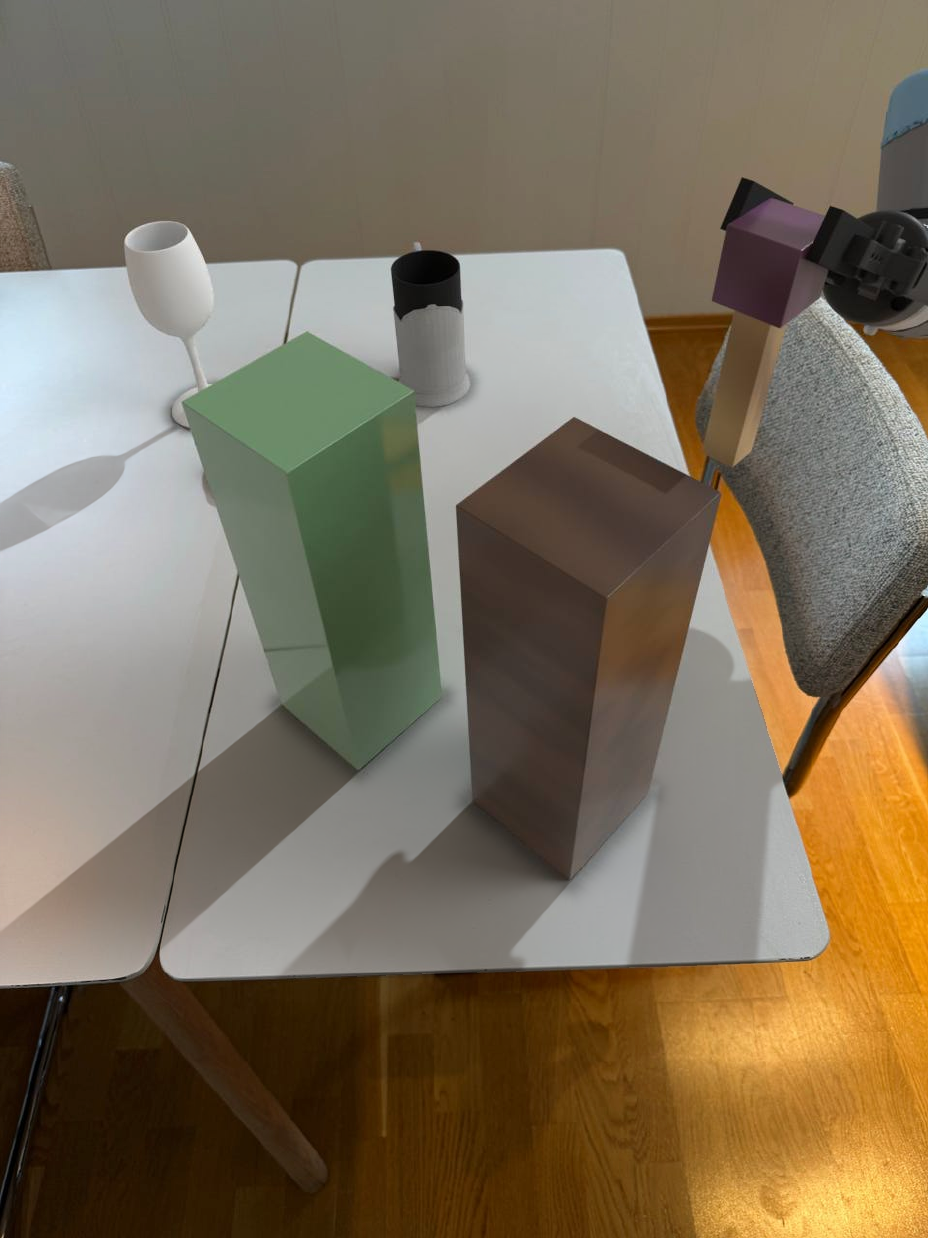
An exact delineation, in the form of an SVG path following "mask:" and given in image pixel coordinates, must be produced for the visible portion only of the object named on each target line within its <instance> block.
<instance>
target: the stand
mask: <svg viewBox="0 0 928 1238" xmlns="http://www.w3.org/2000/svg"><path fill="white" fill-rule="evenodd" d="M722 494H723V493H722V492H721V491H719V490H718V489H716V488H714V487H712V486H710V485H708V484H706V483H704V482H702V481H700V480H699V479H696V478H695V477H692V476H691V475H689V474H686V473H684V472H683V471H681V470H678V469H676V468H675V467H673V466H671V465H669V464H667V463H665V462H663V461H661V460H659V459H657V458H655V457H654V456H651V455H649V454H647V453H645V452H643V451H642V450H640V449H638V448H636V447H633V446H632V445H630V444H628V443H626V442H624V441H622V440H620V439H618V438H616V437H615V436H612V435H610V434H609V433H607V432H604V431H603V430H600V429H599V428H596V427H595V426H593V425H591V424H589V423H587V422H585V421H584V420H581V419H579V418H577V417H576V416H573V417H571V418H570V419H569V420H568V421H567V422H565V423H564V424H562V425H561V426H560V427H558V428H557V429H556V430H554V431H553V432H551V433H550V434H549V435H548V436H546V437H545V438H544V439H542V440H541V441H540V442H538V443H537V444H535V445H534V446H533V447H531V448H530V449H528V450H527V451H526V452H525V453H524V454H522V455H521V456H520V457H518V458H517V459H515V460H514V461H513V462H511V463H510V464H509V465H507V466H506V467H505V468H504V469H502V470H501V471H499V472H498V473H497V474H495V475H494V476H493V477H491V478H490V479H489V480H488V481H486V482H485V483H483V484H482V485H481V486H480V487H478V488H477V489H475V490H474V491H473V492H471V493H470V494H469V495H467V496H466V497H465V498H463V499H462V500H461V501H459V502H458V503H457V504H456V505H455V513H456V514H455V516H456V534H457V550H458V551H457V552H458V553H457V554H458V568H459V569H458V570H459V587H460V588H459V589H460V605H461V623H462V625H461V626H462V641H463V642H462V643H463V659H464V660H463V661H464V675H465V676H464V677H465V678H464V679H465V694H466V712H467V729H468V730H467V731H468V745H469V746H468V747H469V749H468V750H469V765H470V767H469V768H470V782H471V784H470V785H471V799H472V802H473V803H474V804H475V805H477V806H478V807H479V808H480V809H482V811H484V812H485V813H487V815H489V816H490V817H491V818H492V819H493V820H495V821H496V822H497V823H498V824H500V825H501V826H502V827H504V828H505V830H507V831H508V832H509V833H511V834H512V835H513V836H515V838H517V839H518V840H519V841H521V843H523V844H524V845H525V846H527V847H528V848H529V849H530V850H532V852H534V853H535V854H536V855H538V856H539V857H540V858H541V859H542V860H544V861H545V863H547V864H548V865H550V866H551V867H552V868H553V869H555V870H556V871H557V872H558V873H560V875H562V876H563V877H564V878H566V879H567V880H568V881H571V880H572V879H573V878H574V877H575V876H576V874H578V872H579V871H580V870H581V869H582V868H583V867H584V865H586V864H587V862H588V861H589V860H590V859H591V858H592V856H594V854H596V852H597V851H598V850H599V849H600V848H601V847H602V846H603V844H605V842H606V841H607V840H608V839H609V838H610V837H611V835H612V834H613V833H614V832H615V831H616V830H617V829H618V828H619V827H620V826H621V824H622V823H623V822H624V821H625V820H626V819H627V817H629V815H631V813H632V812H633V811H634V810H635V808H636V807H637V806H638V805H639V804H640V803H641V802H642V801H643V800H644V798H646V796H647V795H648V794H649V791H650V787H651V783H652V779H653V774H654V771H655V767H656V763H657V759H658V754H659V751H660V746H661V742H662V739H663V734H664V730H665V727H666V722H667V719H668V718H667V717H668V714H669V710H670V705H671V702H672V698H673V694H674V689H675V685H676V682H677V677H678V673H679V669H680V666H681V661H682V656H683V654H684V650H685V649H684V648H685V645H686V641H687V637H688V632H689V628H690V624H691V621H692V617H693V612H694V608H695V604H696V600H697V596H698V591H699V587H700V584H701V579H702V575H703V572H704V567H705V563H706V559H707V555H708V551H709V546H710V544H711V540H712V534H713V531H714V527H715V523H716V518H717V514H718V512H719V511H718V510H719V506H720V502H721V498H722Z"/></svg>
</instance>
